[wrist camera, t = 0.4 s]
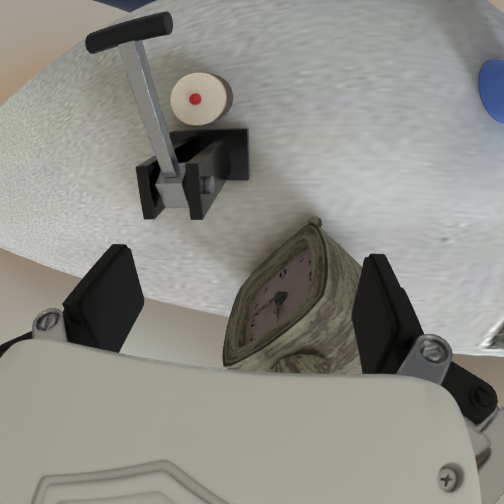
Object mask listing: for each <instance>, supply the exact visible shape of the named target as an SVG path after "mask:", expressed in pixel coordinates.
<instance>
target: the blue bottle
mask: <svg viewBox="0 0 504 504" xmlns="http://www.w3.org/2000/svg"><path fill="white" fill-rule="evenodd" d="M479 91H480V96H481V99H482V102H483V104H484V106H485V108H486V110H487V111H488V113H489V114H490V115H491V116H492V117H493V118H494V119H495V120H496V121H498V122H501V123H504V60H490V61H487V62H486V63H485V64H484V65H483V67H482V69H481V71H480V75H479Z"/></svg>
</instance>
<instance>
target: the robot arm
mask: <svg viewBox="0 0 504 504" xmlns="http://www.w3.org/2000/svg"><path fill="white" fill-rule="evenodd" d="M62 305H63V307H64V311H63V312H62V311H60V309H57V308H50V309H47V310H44V311H42V312H41V313H40V314H39V315H38V316H37V317H36V318H35V320H34V321H33V326H32V331H31V332H29V333H26V334H24V335H22V336H20V337H17V338H15V339H13V340H11V341H8V342H6V343H4V344H2V345H1V346H0V504H495V503H496V502H497V501H498V500H499V498H500V497H501V496H502V494H503V493H504V408H503V407H501V408H500V409H499V408H498V406H497V402H498V400H497V395H496V392H495V390H494V389H493V388H492V386H490V385H489V384H488V383H486V382H485V381H483V380H482V379H480V378H478V377H477V376H475V375H473V374H472V373H470V372H469V371H467V370H465V369H464V368H462V367H460V366H458V365H457V364H456V363H454V362H452V361H451V360H452V355H453V353H452V349H451V347H450V345H449V344H448V343H447V341H446V340H444V339H443V338H441V337H440V336H437V335H434V334H424V333H423V330H422V328H421V325H420V323H419V321H418V318H417V316H416V314H415V311H414V309H413V307H412V305H411V302H410V300H409V298H408V296H407V294H406V292H405V290H404V289H403V288H401V287H400V284H399V282H398V280H397V278H396V276H395V274H394V272H393V270H392V268H391V266H390V264H389V262H388V260H387V258H386V256H385V255H384V254H370V255H369V257H365V259H364V262H363V267H362V271H361V276H360V280H359V284H358V288H357V292H356V296H355V300H354V304H353V308H352V322H353V327H354V331H355V336H356V341H357V346H358V351H359V356H360V362H361V367H362V372H363V374H299V373H274V372H257V371H244V370H232V369H221V368H211V367H203V366H194V365H187V364H179V363H172V362H166V361H159V360H153V359H148V358H142V357H136V356H131V355H126V354H121V353H119V351H120V349H121V348H122V345H123V344H124V342H125V340H126V338H127V335H128V334H129V332H130V330H131V328H132V326H133V324H134V322H135V321H136V319H137V317H138V315H139V313H140V311H141V310H142V308H143V306H144V296H143V293H142V289H141V286H140V282H139V279H138V275H137V271H136V267H135V264H134V260H133V256H132V252H131V249H130V248H128V247H127V245H125V244H113V245H111V246H110V248H109V249H108V250H107V251H106V252H105V253H104V254H103V255H102V257H101V258H100V259H99V260H98V261H97V262H96V263H95V265H94V266H93V267H92V268H91V269H90V270H89V272H88V273H87V274H86V275H85V276H84V277H83V279H82V280H81V281H80V282H79V284H78V285H77V286H76V287H75V288H74V290H73V291H72V292H71V293H70V295H69V296H68V297H67V298H66V300H65V301H64V302H63V304H62Z"/></svg>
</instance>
